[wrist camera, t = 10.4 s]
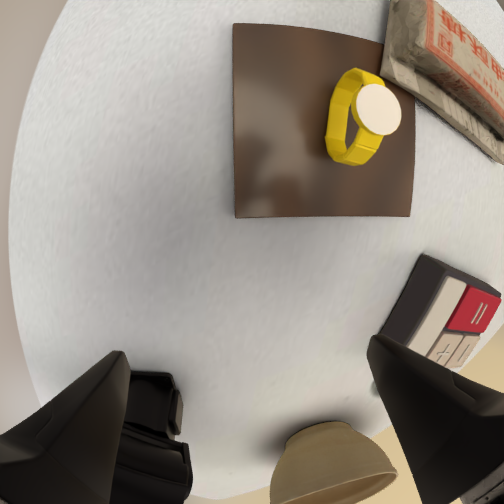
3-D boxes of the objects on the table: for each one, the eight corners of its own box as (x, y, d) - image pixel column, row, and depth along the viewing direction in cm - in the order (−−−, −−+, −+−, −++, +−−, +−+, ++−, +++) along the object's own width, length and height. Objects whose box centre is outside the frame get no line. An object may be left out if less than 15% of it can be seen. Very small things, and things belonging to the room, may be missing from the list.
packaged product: (415, 65, 11) (419, -29, 8) (374, 78, 15) (386, -9, 12) (529, 173, 15) (533, 90, 12) (496, 165, 19) (503, 89, 16)
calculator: (461, 371, 25) (388, 377, 21) (444, 351, 29) (369, 349, 25) (506, 297, 21) (451, 272, 18) (484, 281, 25) (421, 252, 22)
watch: (347, 165, 18) (393, 175, 12) (310, 157, 18) (346, 162, 12) (359, 87, 16) (406, 71, 10) (323, 75, 16) (362, 51, 10)
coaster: (235, 216, 19) (235, 218, 19) (232, 27, 14) (232, 22, 14) (404, 214, 21) (410, 217, 20) (405, 54, 15) (410, 52, 15)
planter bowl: (288, 402, 27) (309, 485, 17) (391, 403, 30) (422, 461, 20) (244, 460, 32) (251, 521, 22) (335, 459, 36) (351, 508, 25)
